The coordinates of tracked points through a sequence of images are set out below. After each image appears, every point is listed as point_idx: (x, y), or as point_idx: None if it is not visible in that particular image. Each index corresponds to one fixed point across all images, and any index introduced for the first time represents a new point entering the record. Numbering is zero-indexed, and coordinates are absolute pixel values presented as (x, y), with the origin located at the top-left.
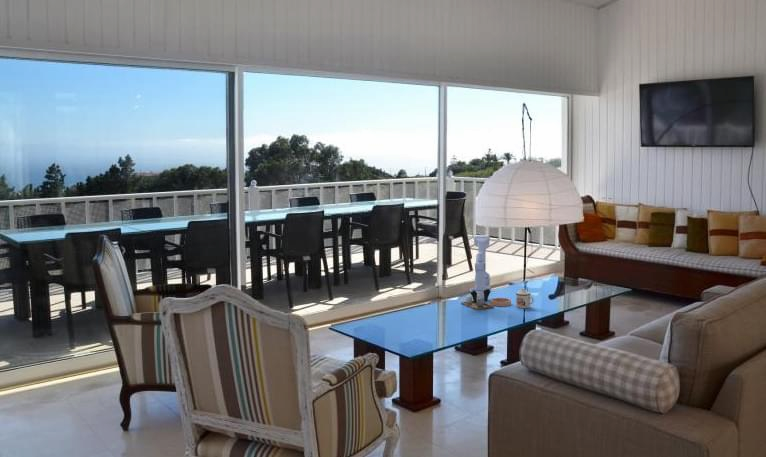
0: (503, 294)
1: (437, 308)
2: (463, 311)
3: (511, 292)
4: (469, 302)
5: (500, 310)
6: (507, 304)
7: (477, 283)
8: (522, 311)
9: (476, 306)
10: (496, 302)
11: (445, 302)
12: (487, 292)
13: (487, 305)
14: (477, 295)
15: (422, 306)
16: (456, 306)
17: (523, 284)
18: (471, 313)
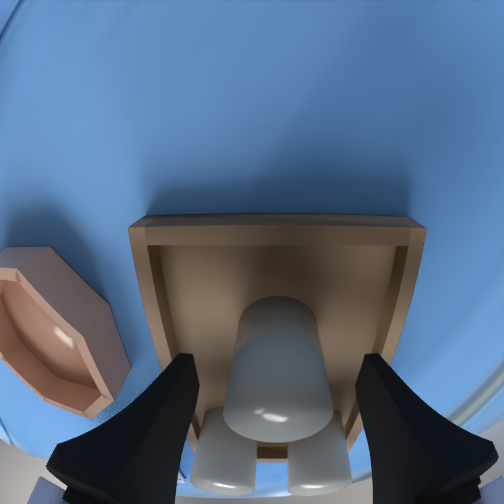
0: (47, 436)
1: (497, 391)
2: (493, 267)
3: (25, 430)
4: (333, 430)
5: (112, 109)
6: (4, 254)
7: None
8: (4, 41)
9: None
10: (66, 313)
11: (366, 474)
12: (123, 474)
13: (172, 338)
14: (219, 486)
15: (489, 426)
16: None
17: (13, 441)
18: (494, 153)
